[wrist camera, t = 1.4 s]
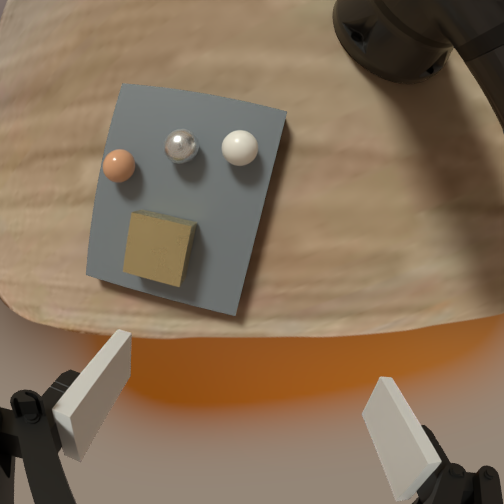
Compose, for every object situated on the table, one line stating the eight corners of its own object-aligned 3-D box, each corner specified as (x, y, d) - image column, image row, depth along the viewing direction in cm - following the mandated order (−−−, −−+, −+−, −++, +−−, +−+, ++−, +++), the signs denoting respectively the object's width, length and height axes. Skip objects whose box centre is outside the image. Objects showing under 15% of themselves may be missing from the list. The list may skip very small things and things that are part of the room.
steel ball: (173, 129, 29) (164, 123, 26) (205, 135, 30) (199, 129, 26) (165, 161, 30) (155, 159, 27) (197, 167, 30) (190, 166, 27)
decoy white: (228, 129, 29) (224, 123, 26) (261, 137, 30) (262, 132, 26) (219, 162, 30) (215, 160, 27) (253, 170, 30) (253, 168, 27)
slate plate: (130, 89, 31) (122, 83, 28) (284, 116, 31) (287, 111, 29) (95, 269, 35) (85, 274, 33) (236, 307, 36) (235, 316, 34)
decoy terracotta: (115, 148, 30) (101, 145, 26) (143, 153, 30) (131, 150, 27) (108, 179, 30) (93, 179, 27) (136, 185, 31) (123, 185, 27)
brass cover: (142, 209, 31) (131, 212, 28) (197, 222, 31) (191, 226, 28) (133, 264, 32) (122, 271, 29) (185, 277, 32) (179, 287, 30)
